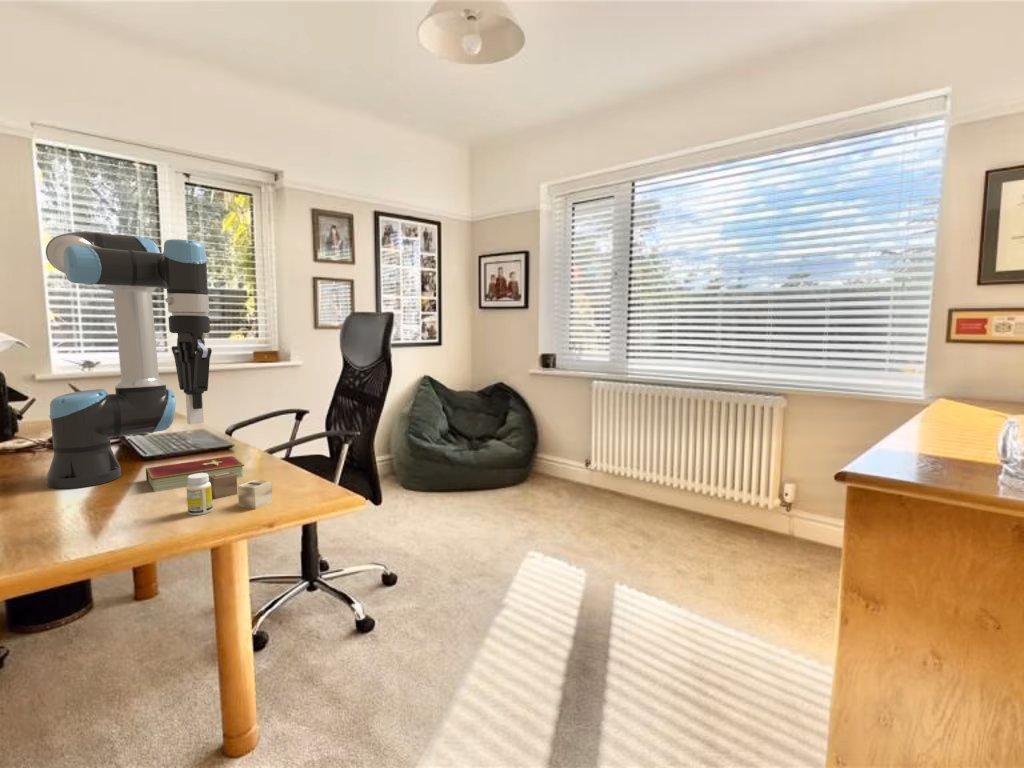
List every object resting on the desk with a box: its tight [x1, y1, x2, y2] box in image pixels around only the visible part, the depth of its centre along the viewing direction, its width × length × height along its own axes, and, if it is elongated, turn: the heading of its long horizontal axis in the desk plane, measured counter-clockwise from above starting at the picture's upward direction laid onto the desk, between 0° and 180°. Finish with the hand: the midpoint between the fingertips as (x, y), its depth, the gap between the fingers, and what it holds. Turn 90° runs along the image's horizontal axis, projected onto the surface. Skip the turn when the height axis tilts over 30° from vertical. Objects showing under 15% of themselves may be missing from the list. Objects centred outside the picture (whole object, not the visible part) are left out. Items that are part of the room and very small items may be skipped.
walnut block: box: [208, 471, 238, 500], centre depth 129 cm, size 5×5×5 cm
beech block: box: [237, 479, 273, 510], centre depth 123 cm, size 5×5×5 cm
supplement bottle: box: [186, 473, 213, 516], centre depth 117 cm, size 5×5×8 cm
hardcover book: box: [145, 455, 245, 492], centre depth 141 cm, size 12×21×4 cm, turn 130°
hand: (195, 423), depth 115 cm, fingers closed
